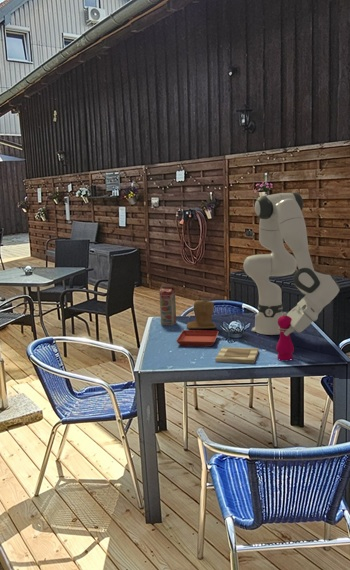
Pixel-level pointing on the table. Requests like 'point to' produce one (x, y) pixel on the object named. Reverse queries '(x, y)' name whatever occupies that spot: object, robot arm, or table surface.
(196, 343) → the plant saucer
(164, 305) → the juice carton
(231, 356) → the birch board
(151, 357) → the table surface
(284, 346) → the pepper mill
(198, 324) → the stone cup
